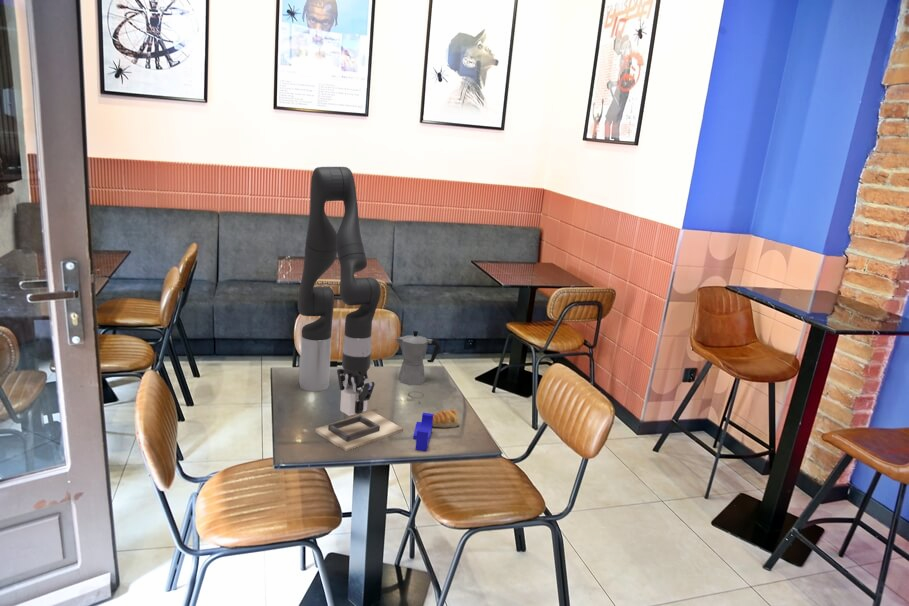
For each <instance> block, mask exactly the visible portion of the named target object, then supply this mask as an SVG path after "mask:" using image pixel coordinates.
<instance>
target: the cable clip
mask: <svg viewBox="0 0 909 606" xmlns="http://www.w3.org/2000/svg"><path fill="white" fill-rule="evenodd" d="M433 414H434V413H429V412H422V415H421V421H416V424H415V427H414V432H413V436H412V439H413V440H415V441H416V442H415V451H419V450H420V451H421V452H427V450H428V448H429V443H430V440H431V436H432V431H433V426H432V424H433Z"/></svg>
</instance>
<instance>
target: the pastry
mask: <svg viewBox="0 0 909 606" xmlns="http://www.w3.org/2000/svg"><path fill="white" fill-rule="evenodd" d="M432 414H433V424H432V428H441V429H442V428H445V429H446V428H456V427H458V426H459V425H460V418H459V413H458V412H457V410H455V409H449V410H448V409H446V410H445V409H444V410H439V411H438V412H436V413H432Z"/></svg>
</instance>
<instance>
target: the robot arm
mask: <svg viewBox="0 0 909 606" xmlns="http://www.w3.org/2000/svg"><path fill="white" fill-rule="evenodd" d="M356 189H357V187H356V182H355V178H354V175H353V172H352V170H351V169H350V168H349V167H347V166H318V167H316V168H314V169H313V171H312V175H311V179H310V196H309V216H308V227H307V233H306V238H305V247H304V256H303V257H304V258H303V259H304V260H303V269H302V276H301V282H300V285H299V291H298V297H297V310H298V312H299V314H300V315H301V316H304V317H318V319H316V320H315V321H313V322H309V323H307V324H305V325H304V326H303V327H302V329H301V339H300V340H301V341H300V344H301V345H300V356H299V364H298V384H299V387H300V389H301V390H304V391H306V392H323V391H325V390H327V389H328V388H330V373H331V372H330V371H331V349H332V330H333V316H334V308H335V307H334V306H335V295H334V293H335V292H334V291H333V288H332V287H330V286H315V285H316V283H317V281H318V280H319V279H320V278H321V277H322V276H323V275H324V274H325V273H326V272H327V271H328V270H329V269H330V268H331V266H333V264H334V263H335V261H336V259H337V257H338V261H339V267H340V281H339V296H340V297H339V298H340V299H341V301H342V302H343V303H344V304H345V305H347V306H359V308H358V309H356V310H354V311H351V312H348V313H347V314H346V316H345V318H344V319H345V320H344V321H345V323H344V336H343V342H342V360H341V366H342V367H341V368H339V369H337V370H336V371H337V378H338V379H337V380H338V385H339V390H340V391H341V390H344V389H349V388H352V387H353V392H354V393H355V394H356V396H355V397H356V401H355V413H356V414H357V415H360V414H363V406H364V401H366V400H367V401H369V400H370V399H371V397H372V394H373V390H374V387H375V382H374V381H370V380H369V377H368V370H369V369H370V368H371V360H372V359H371V357H372V345H373V343H372V329H373V320H374V316H375V313H376V310H377V307H378V305H379V302H380V299H381V284H380V283H379V281H378V280H377V279H376V278H374V277H370V276H369V277H355V273H358V272H361V271H363V270H365V268H366V267H367V265H368V262H367V257H366V253H365V248H364V244H363V240H362V235H361V230H360V220H359V218H360V217H359V207H358V199H357V197H358V196H357V191H356ZM327 202H343V206H344V211H343V212H344V213H343V217H342V220H341V223H340V225H339V227H338V230H337V231H336V229H335V228H334V226H333V224H332V222H331V221H330V220H329V218H328V215H327V214H326V212H325V211H326V210H325V205H326V203H327ZM360 387H362V388H361V389H357V388H360ZM360 392H361V396H359V393H360ZM356 414H355V415H356Z"/></svg>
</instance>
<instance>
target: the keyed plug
mask: <svg viewBox="0 0 909 606" xmlns="http://www.w3.org/2000/svg"><path fill="white" fill-rule="evenodd" d="M361 388H362V387H360V388H357V389H361ZM355 396H356V394H355V393H354V392H353V387H352V388H349V389H344V390H340V406H339V409H340V410H339V411H340V412H342V413H343V414H345V415H347V416H348V417H350V416H353V415H356V413H355V401H356V397H355ZM359 396H361V392H360V393H359ZM367 410H368V400H366V401H364V406H363V412H368V411H367ZM363 412H362V413H363Z"/></svg>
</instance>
